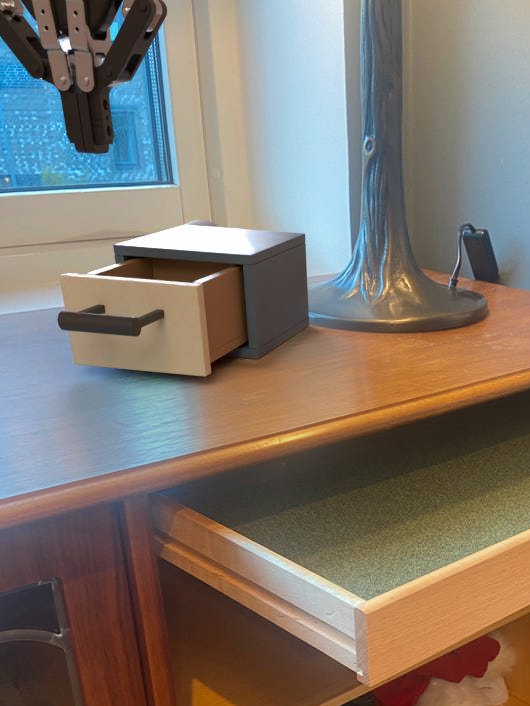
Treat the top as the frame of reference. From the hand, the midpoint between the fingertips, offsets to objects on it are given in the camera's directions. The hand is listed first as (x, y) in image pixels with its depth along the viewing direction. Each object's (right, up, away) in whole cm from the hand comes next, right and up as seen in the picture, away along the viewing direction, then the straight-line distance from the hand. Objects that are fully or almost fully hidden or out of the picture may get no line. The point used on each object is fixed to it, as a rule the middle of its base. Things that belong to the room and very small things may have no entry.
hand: (92, 152), depth 68 cm
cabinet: (+2, -5, +26) cm, 27 cm away
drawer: (0, -11, +14) cm, 18 cm away
